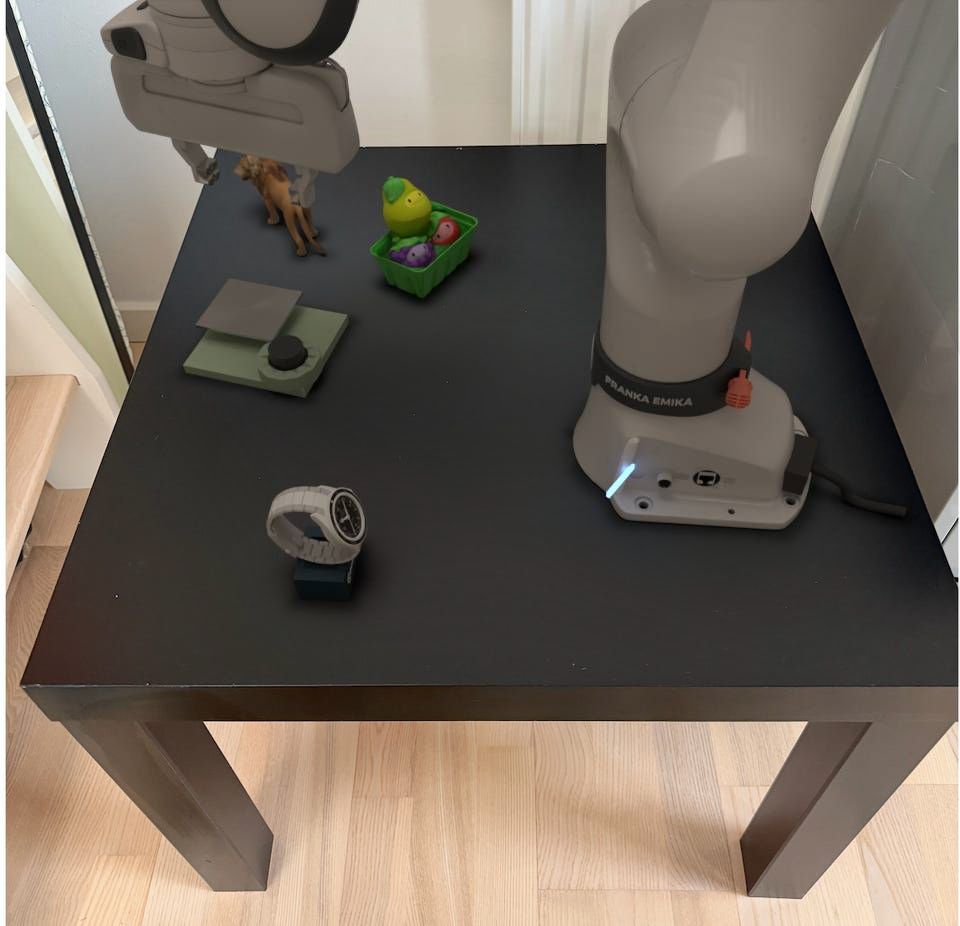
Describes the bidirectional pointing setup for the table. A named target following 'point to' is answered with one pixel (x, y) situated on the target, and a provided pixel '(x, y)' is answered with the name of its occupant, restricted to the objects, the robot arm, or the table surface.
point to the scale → (251, 357)
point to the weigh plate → (249, 310)
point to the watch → (320, 539)
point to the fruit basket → (420, 238)
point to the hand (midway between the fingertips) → (255, 191)
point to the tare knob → (286, 353)
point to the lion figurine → (278, 197)
